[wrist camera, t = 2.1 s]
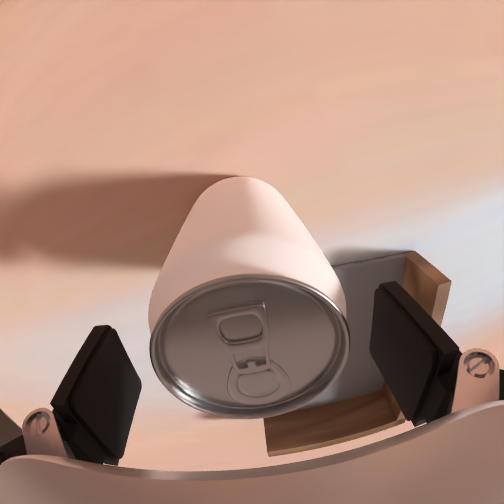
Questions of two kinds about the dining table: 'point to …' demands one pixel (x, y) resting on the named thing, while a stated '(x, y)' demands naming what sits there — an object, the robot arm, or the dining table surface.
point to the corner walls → (365, 406)
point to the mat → (360, 326)
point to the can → (246, 307)
